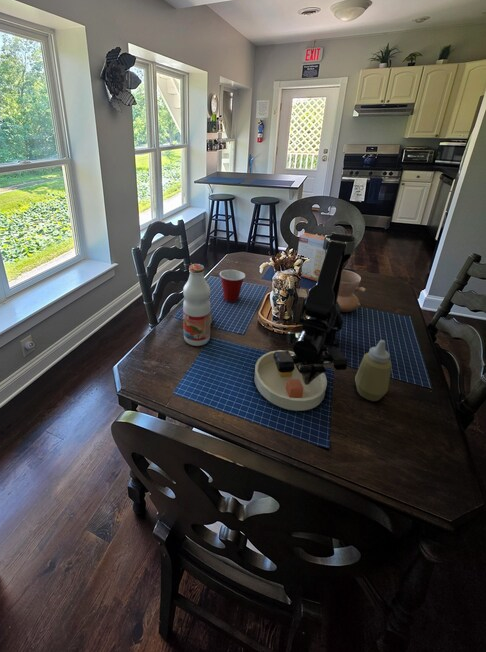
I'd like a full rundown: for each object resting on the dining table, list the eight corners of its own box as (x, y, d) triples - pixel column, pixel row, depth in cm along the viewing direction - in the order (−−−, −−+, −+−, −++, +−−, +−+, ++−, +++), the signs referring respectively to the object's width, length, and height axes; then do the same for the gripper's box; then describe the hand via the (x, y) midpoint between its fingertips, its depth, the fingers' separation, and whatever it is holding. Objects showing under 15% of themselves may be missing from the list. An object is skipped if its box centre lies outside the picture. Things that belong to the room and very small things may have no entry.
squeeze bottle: (384, 409, 85) (400, 355, 78) (350, 397, 89) (363, 344, 82) (385, 389, 91) (401, 337, 84) (354, 378, 95) (366, 328, 88)
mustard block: (287, 368, 99) (289, 359, 97) (291, 376, 95) (293, 367, 94) (276, 368, 99) (277, 359, 97) (280, 376, 95) (281, 367, 94)
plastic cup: (248, 296, 140) (249, 271, 135) (237, 307, 131) (239, 281, 127) (225, 290, 145) (226, 266, 141) (214, 300, 137) (214, 275, 132)
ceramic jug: (366, 306, 131) (373, 275, 125) (353, 321, 121) (360, 288, 116) (322, 291, 142) (327, 262, 137) (307, 304, 133) (312, 273, 127)
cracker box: (327, 279, 153) (334, 238, 145) (322, 283, 149) (329, 241, 141) (299, 270, 162) (305, 231, 154) (294, 274, 158) (299, 234, 150)
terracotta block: (297, 388, 91) (298, 378, 90) (302, 397, 88) (303, 388, 87) (285, 388, 91) (286, 379, 90) (289, 398, 88) (291, 388, 87)
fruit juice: (215, 340, 112) (217, 268, 101) (193, 350, 108) (192, 275, 97) (200, 327, 120) (200, 258, 109) (178, 335, 115) (176, 265, 104)
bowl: (308, 358, 103) (309, 348, 101) (337, 410, 85) (340, 398, 83) (247, 361, 102) (248, 351, 101) (264, 414, 84) (265, 402, 82)
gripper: (333, 319, 93) (325, 362, 99) (270, 322, 92) (265, 365, 98) (353, 344, 83) (343, 390, 89) (282, 347, 82) (276, 393, 88)
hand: (305, 383), depth 91 cm, fingers closed
